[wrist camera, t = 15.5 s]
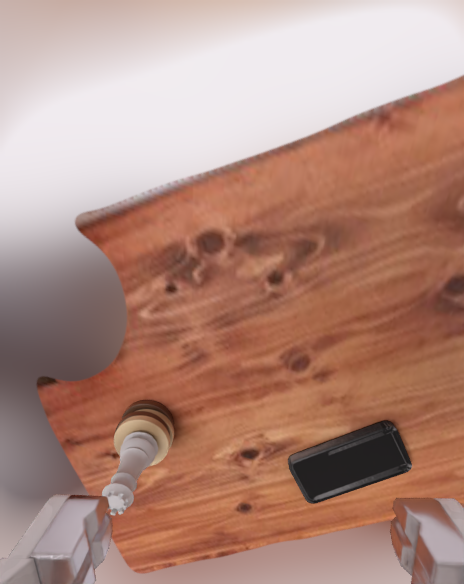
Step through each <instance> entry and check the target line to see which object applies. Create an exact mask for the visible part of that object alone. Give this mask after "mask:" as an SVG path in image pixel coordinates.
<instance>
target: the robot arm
mask: <svg viewBox="0 0 464 584" xmlns="http://www.w3.org/2000/svg"><path fill="white" fill-rule="evenodd" d="M108 508H109V502H108V497H106V496H85V495H54V496H52V497H51V498H50V499H49V500H48V501H47V502H46V504H45V505H44V507H43V508H42V509H41V511H40V512H39V514H38V515H37V516H36V518H35V519H34V521H33V522H32V524H31V525H30V527H29V528H28V529H27V531H26V532H25V534H24V535H23V536H22V538H21V539H20V541H19V542H18V543H17V545H16V546H15V548H14V549H13V550H12V552H11V553H10V555H9V556H8V558H1V559H0V584H94V583H95V581H96V577H95V568H97V567H98V566H99V564H100V563H102V562H103V560H104V559H105V556H106V554H107V551H108V549H109V546H110V541H111V537H112V526H113V525H112V518H111V517H110V516H109V515H108V514H107V513H106V512H107V510H108ZM393 510H394V512H395V514H396V517H395V518H394V519H393V520H392V521H391V529H390V533H391V539H392V544H393V547H394V550H395V553H396V556H397V558H398V560H399V563H400V565H401V566H402V567H403V568H404V569H405V570H406V571H407V572H408V573H409V574H410V575H411V576H412V581H411V584H464V508H463V507H462V506H461V504H460V503H459V502H458V501H456V500H455V499H454V498H434V499H433V498H396V499H395V500H394V503H393Z"/></svg>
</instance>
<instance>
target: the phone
mask: <svg viewBox="0 0 464 584" xmlns="http://www.w3.org/2000/svg"><path fill="white" fill-rule="evenodd" d="M288 464H289V469H290V471H291V473H292V475H293V477H294V479H295V481H296V483H297V484H298V486H299V488H300V490H301V492H302V494H303V496H304V497H305V499H306V501H307V502H309V503H313V504H314V503H318V502H321V501H324V500H327V499H330V498H333V497H336V496H339V495H342V494H345V493H348V492H350V491H353V490H356V489H359V488H362V487H365V486H368V485H371V484H374V483H377V482H380V481H383V480H386V479H389V478H391V477H394V476H397V475H400V474H403V473H406V472H408V471H409V470H410V469H411V467H412V463H411V461H410V458H409V456H408V454H407V451H406V449H405V447H404V444H403V442H402V440H401V437H400V435H399V433H398V431H397V429H396V428H395V426H394V425H393V424H392V423H391V422H389V421H382V422H379V423H377V424H374V425H371V426H369V427H366V428H363V429H361V430H358V431H355V432H352V433H350V434H347V435H344V436H342V437H339V438H336V439H334V440H331V441H328V442H326V443H323V444H320V445H317V446H315V447H312V448H309V449H307V450H304V451H301V452H299V453H296V454H293V455H291V456H290V457H289V459H288Z"/></svg>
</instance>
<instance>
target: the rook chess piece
mask: <svg viewBox="0 0 464 584" xmlns="http://www.w3.org/2000/svg"><path fill="white" fill-rule="evenodd" d="M157 452H158V446H157V442H156V440H155V439H154V438H153V437H152V435H150V434H148V433H146V432H141V431H140V432H134V433H131V434H129V435H128V436H126V438H125V439H124V441H123V444H122V446H121V449H120V465H119V468H118V471H117V473H116V474H115V475H114V476H113V477H112V478H111V484H110V485H108V486H106V487H105V488H104V490H103V492H102V496H106V497H108V502H109V508H108V509H111V510H112V511H111V513H110V515H115V514H116V512H117V511H119V512H118V513H119V515H121V514H122V513H124V510H126V508H127V507H129V506H130V505H131V504H132V503H133V499H134V496H133V493H132V492H133V491H134V490H135V489H136V487H137V483H136V482H137V480H138V478H139V476H140V474H141V473H142V471H143V470H145V469H146V468H147V467H148V466H150V464H151V463H152V462H153V461H154V459H155V456H156V455H157ZM107 511H108V510H107Z"/></svg>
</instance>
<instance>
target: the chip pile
mask: <svg viewBox="0 0 464 584" xmlns="http://www.w3.org/2000/svg"><path fill="white" fill-rule="evenodd" d="M140 431H141V432H146V433H148V434H150V435H152V437H153V438H154V439H155V440H156V442H157V446H158V452H157V455H156V456H155V459H154V461H153V462H152V463H151V464H150V466H152V465H155V464H157V463H159V462H160V461H162V460H163V459H164V458H165V456H166V455H167V453H168V450H169V448H170V447H171V445H172V442H173V439H174V421H173V417H172V415H171V413H170V412H169V410H168V409H167V408H166V407H165V406H163V405H162V404H160V403H158V402H155V401H151V400H142V401H138V402H135V403H133V404H132V405H130V406H129V407H128V408H127V410H126V411H125V413H124V414H123V417H122V420H121V421H120V423H119V424H118V426H117V428H116V431H115V435H114V446H115V449H116V451H117V453H118V454H119V455H120V449H121V446H122V444H123V441H124V439H125V438H126V436H128V435H129V434H131V433H134V432H140Z"/></svg>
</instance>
